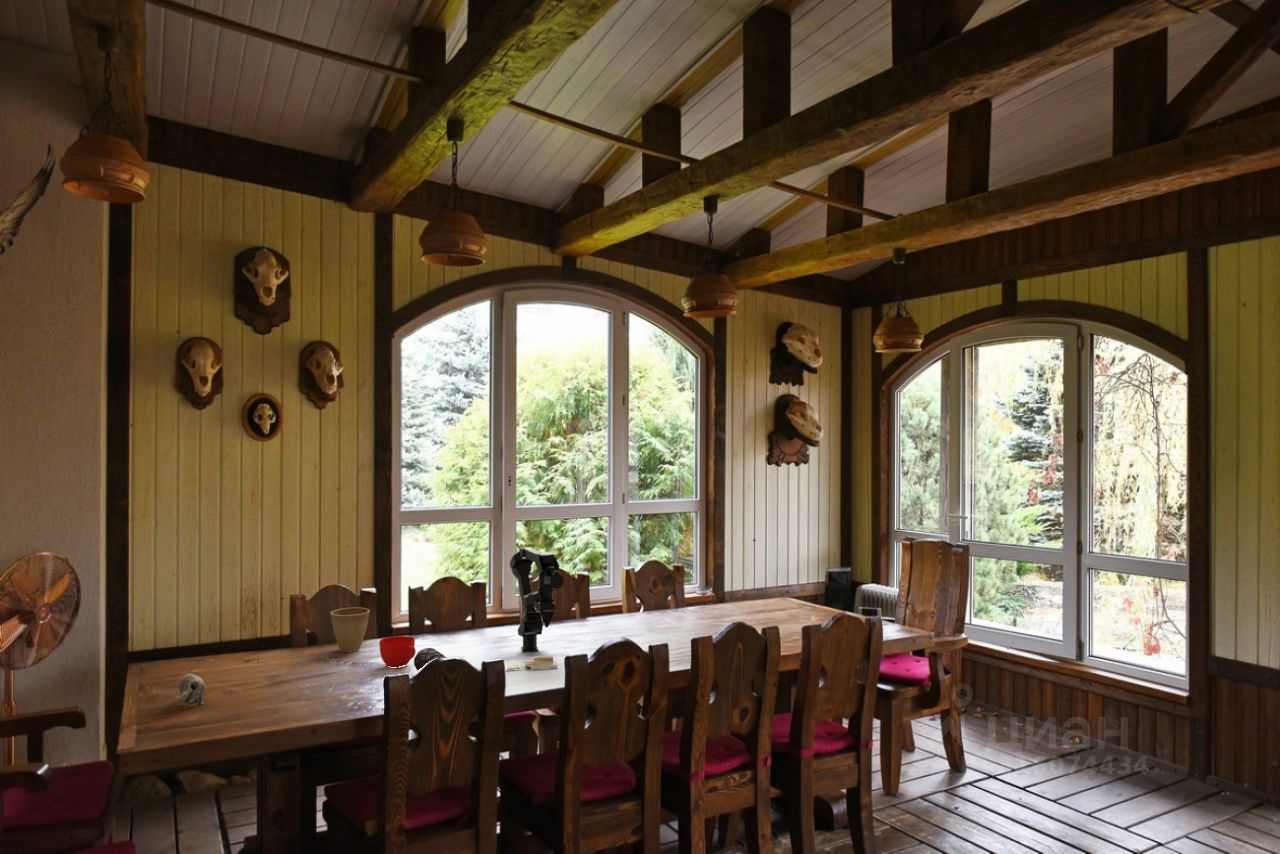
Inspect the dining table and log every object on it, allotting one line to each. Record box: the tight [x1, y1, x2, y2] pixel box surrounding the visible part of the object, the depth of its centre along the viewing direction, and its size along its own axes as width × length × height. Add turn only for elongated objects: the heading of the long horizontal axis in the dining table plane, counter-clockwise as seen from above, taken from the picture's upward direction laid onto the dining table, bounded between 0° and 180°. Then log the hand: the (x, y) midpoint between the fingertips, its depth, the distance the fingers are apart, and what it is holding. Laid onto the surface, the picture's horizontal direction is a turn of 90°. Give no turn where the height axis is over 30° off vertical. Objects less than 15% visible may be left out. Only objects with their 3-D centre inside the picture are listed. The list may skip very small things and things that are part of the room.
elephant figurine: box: [175, 673, 206, 710], centre depth 265 cm, size 8×14×15 cm
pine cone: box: [413, 647, 447, 671], centre depth 299 cm, size 10×18×10 cm, turn 52°
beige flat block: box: [523, 655, 554, 667], centre depth 312 cm, size 5×10×2 cm, turn 102°
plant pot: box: [330, 607, 370, 653], centre depth 336 cm, size 15×15×16 cm
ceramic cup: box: [378, 635, 417, 667], centre depth 312 cm, size 13×17×10 cm
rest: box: [529, 660, 558, 670], centre depth 313 cm, size 7×10×1 cm
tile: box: [505, 661, 522, 671], centre depth 311 cm, size 2×7×8 cm
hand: (545, 624), depth 326 cm, fingers open, 9 cm apart
